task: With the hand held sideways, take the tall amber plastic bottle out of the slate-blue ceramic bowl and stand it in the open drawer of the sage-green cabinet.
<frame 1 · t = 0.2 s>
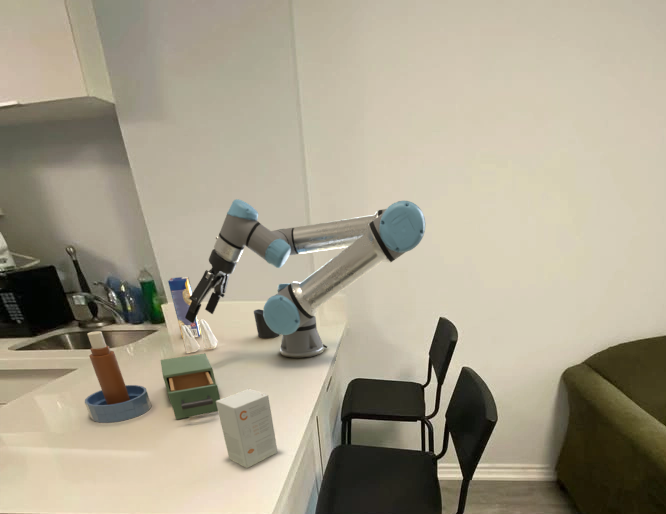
hand: (199, 315, 138), 16 cm above the worktop, tool tilted 35°, fingers open, 13 cm apart
shaker set: (203, 350, 160), on the worktop
drawer: (194, 395, 108), point 4 cm above the worktop, slide at 11.0 cm
pen holder: (269, 336, 175), on the worktop
cabinet: (192, 392, 122), on the worktop
bottle: (121, 410, 111), point 1 cm above the worktop, touching bowl
small box: (253, 456, 89), on the worktop
bowl: (122, 413, 111), on the worktop
beverage box: (192, 335, 182), on the worktop
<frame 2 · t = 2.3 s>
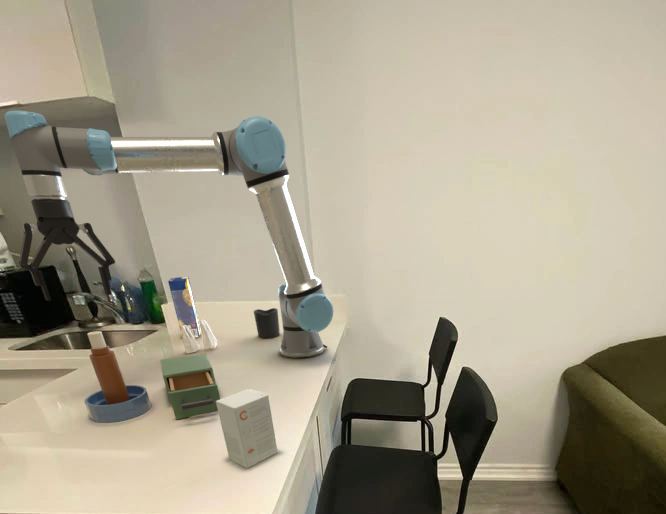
hand: (79, 297, 108), 27 cm above the worktop, tool pointing down, fingers open, 13 cm apart
nothing on the worktop moved.
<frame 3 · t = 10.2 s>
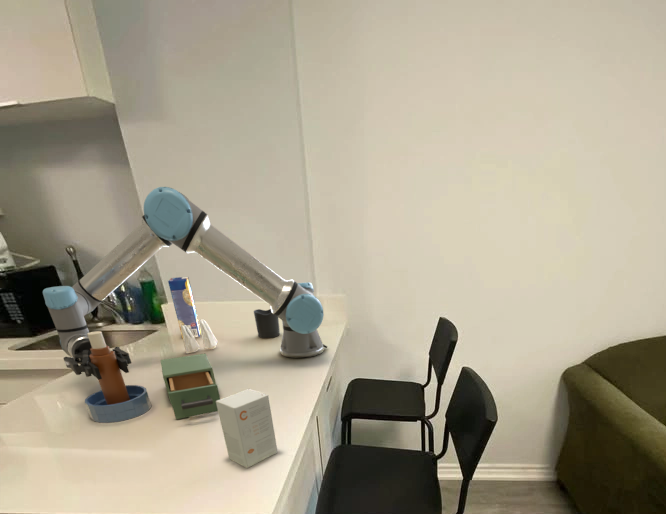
hand: (112, 370, 101), 13 cm above the worktop, tool horizontal, fingers closed on bottle, 5 cm apart
bottle: (121, 410, 111), point 1 cm above the worktop, touching bowl, gripper
everything else where it was.
when the fingers open (14 cm above the worktop, at t = 18.8 s): bottle stays where it is, resting on drawer.
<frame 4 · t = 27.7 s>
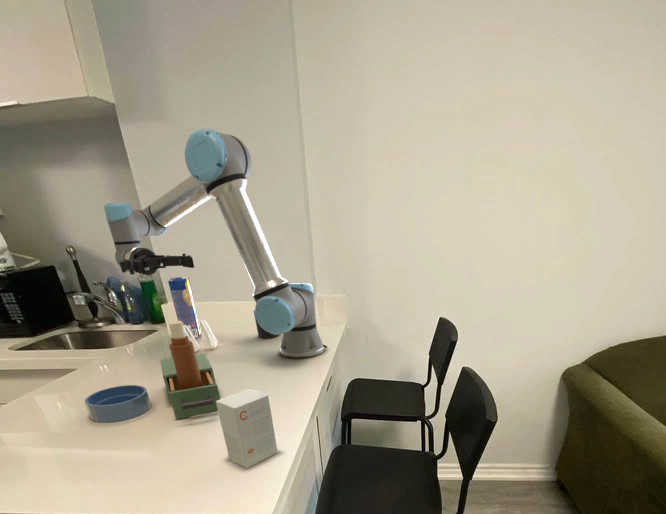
hand: (168, 265, 117), 32 cm above the worktop, tool horizontal, fingers open, 13 cm apart
drawer: (194, 395, 108), point 4 cm above the worktop, slide at 11.0 cm, touching bottle
bottle: (195, 401, 111), point 2 cm above the worktop, touching drawer
everything else where it was.
at the end: bottle 0.1 cm from the target spot in the drawer, point 1.9 cm above the cabinet's base; bottle tilted 0°; the gripper is holding nothing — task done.
